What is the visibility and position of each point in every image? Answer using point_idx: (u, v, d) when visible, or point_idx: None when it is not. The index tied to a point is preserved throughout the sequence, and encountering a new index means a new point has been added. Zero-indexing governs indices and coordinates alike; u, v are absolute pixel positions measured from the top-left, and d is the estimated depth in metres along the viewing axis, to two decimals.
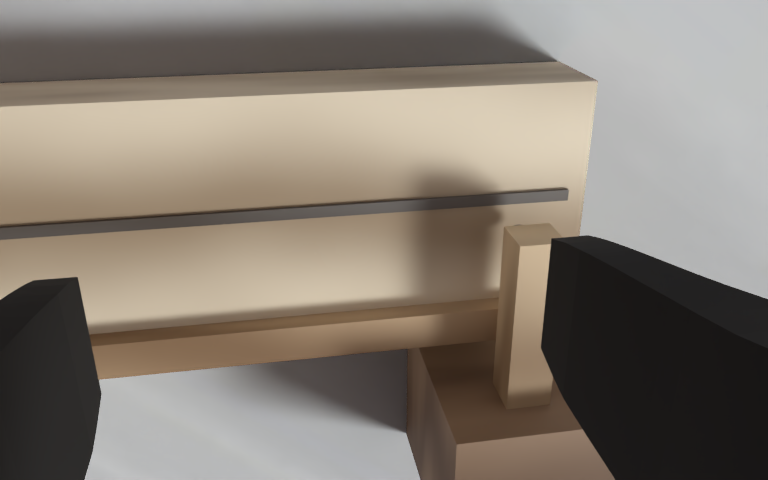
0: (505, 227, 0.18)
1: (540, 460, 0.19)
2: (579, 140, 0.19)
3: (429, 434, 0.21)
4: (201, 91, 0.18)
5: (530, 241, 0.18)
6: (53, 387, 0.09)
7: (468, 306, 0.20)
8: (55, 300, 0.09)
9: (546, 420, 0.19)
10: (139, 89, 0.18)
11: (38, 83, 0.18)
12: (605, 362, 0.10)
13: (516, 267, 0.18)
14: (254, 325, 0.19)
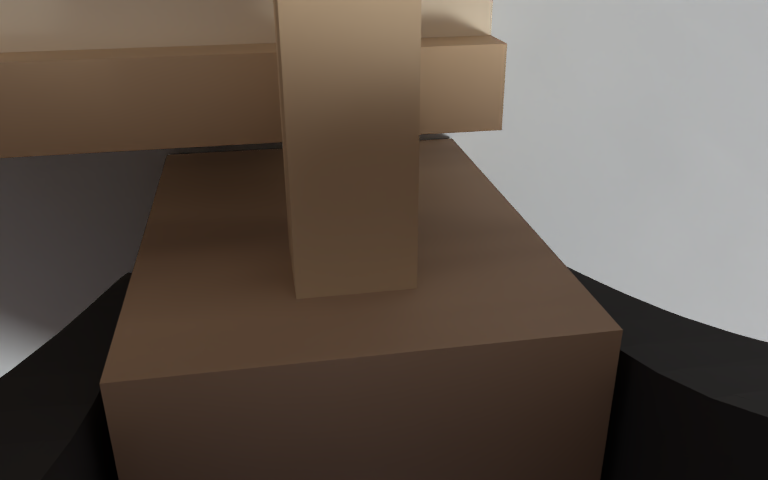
0: None
1: (376, 435, 0.07)
2: None
3: None
4: None
5: None
6: None
7: (221, 49, 0.08)
8: None
9: (395, 322, 0.07)
10: None
11: None
12: None
13: None
14: None
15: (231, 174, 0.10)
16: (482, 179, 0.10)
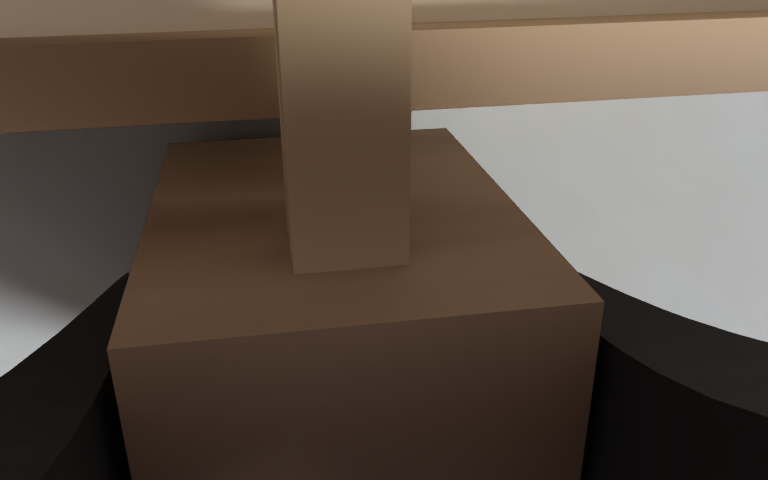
0: None
1: (369, 401, 0.07)
2: None
3: None
4: None
5: None
6: None
7: (675, 17, 0.10)
8: None
9: (388, 295, 0.07)
10: None
11: None
12: None
13: None
14: (234, 33, 0.09)
15: (231, 161, 0.11)
16: (474, 165, 0.11)
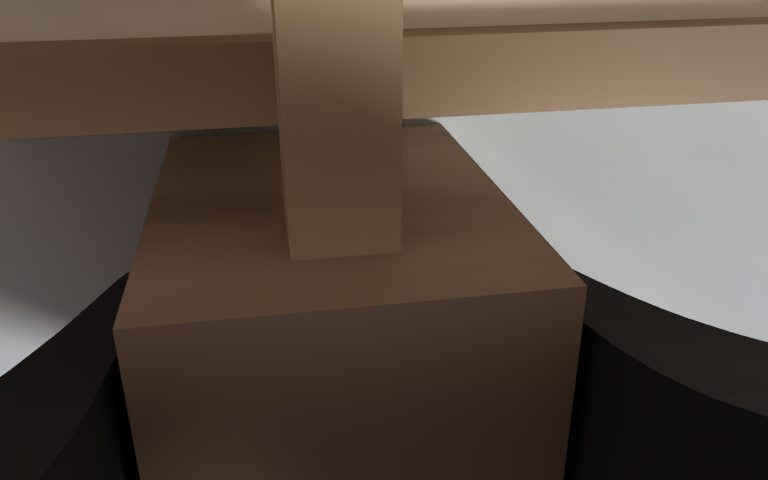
0: None
1: (363, 381, 0.07)
2: None
3: None
4: None
5: None
6: None
7: None
8: None
9: (381, 280, 0.07)
10: None
11: None
12: None
13: None
14: None
15: (231, 155, 0.11)
16: (467, 159, 0.11)
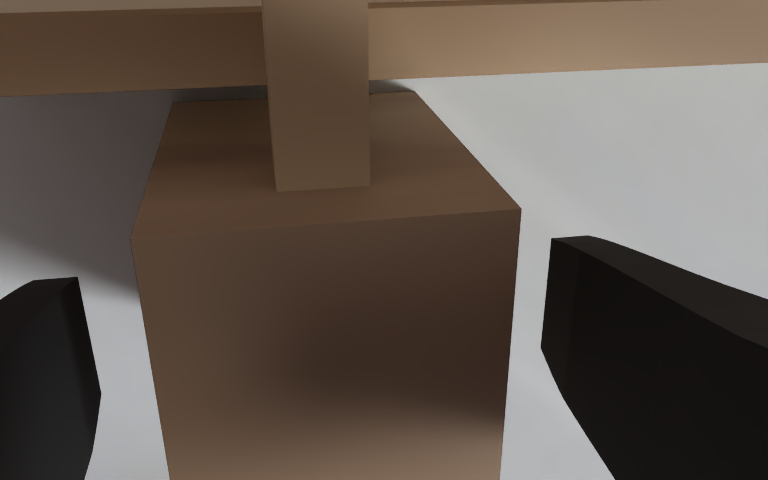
0: None
1: (335, 288, 0.09)
2: None
3: None
4: None
5: None
6: (53, 387, 0.09)
7: None
8: (55, 300, 0.09)
9: (351, 205, 0.09)
10: None
11: None
12: (605, 362, 0.10)
13: None
14: None
15: (227, 115, 0.13)
16: (434, 118, 0.12)
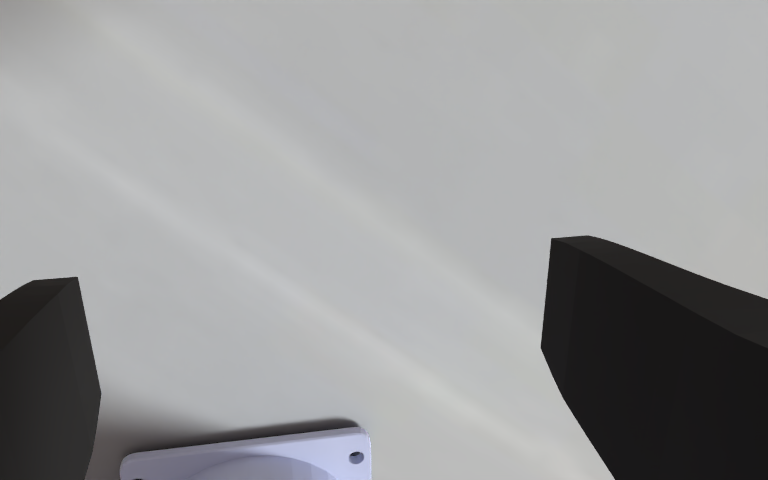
0: None
1: None
2: None
3: None
4: None
5: None
6: (53, 387, 0.09)
7: None
8: (55, 300, 0.09)
9: None
10: None
11: None
12: (605, 362, 0.10)
13: None
14: None
15: None
16: None
